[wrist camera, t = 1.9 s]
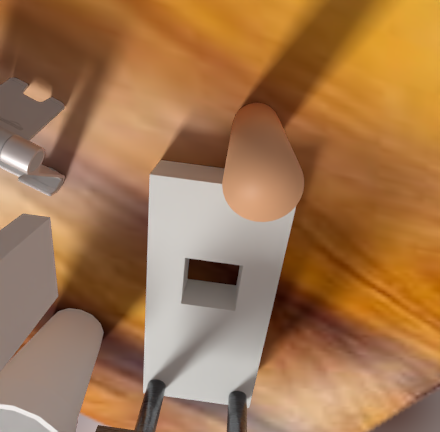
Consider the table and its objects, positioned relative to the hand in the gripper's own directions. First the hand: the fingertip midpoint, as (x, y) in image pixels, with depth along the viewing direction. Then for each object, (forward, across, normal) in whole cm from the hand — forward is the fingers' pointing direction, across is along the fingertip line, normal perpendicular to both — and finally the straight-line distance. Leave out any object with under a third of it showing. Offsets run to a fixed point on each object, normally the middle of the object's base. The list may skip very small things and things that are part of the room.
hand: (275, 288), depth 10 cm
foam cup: (+22, -17, -26) cm, 38 cm away
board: (+22, -2, -17) cm, 28 cm away
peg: (+22, 0, 0) cm, 22 cm away
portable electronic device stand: (+22, -20, -3) cm, 30 cm away
